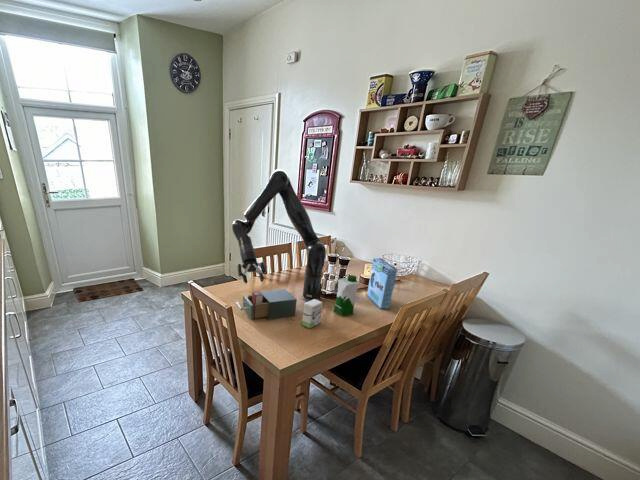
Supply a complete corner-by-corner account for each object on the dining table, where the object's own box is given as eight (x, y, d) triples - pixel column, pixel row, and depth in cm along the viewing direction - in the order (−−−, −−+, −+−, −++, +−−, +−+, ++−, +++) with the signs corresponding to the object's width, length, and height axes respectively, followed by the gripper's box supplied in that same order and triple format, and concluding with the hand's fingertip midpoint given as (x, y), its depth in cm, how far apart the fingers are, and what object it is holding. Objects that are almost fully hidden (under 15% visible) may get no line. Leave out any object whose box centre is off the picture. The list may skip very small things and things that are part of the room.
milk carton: (355, 314, 171) (362, 278, 163) (341, 317, 168) (347, 281, 160) (344, 307, 179) (350, 273, 170) (331, 310, 175) (336, 275, 167)
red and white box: (258, 308, 171) (259, 290, 167) (262, 312, 167) (263, 294, 163) (251, 309, 170) (252, 291, 166) (254, 313, 166) (255, 295, 162)
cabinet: (268, 319, 164) (269, 302, 160) (258, 307, 177) (259, 291, 173) (295, 316, 168) (296, 299, 164) (283, 304, 181) (285, 288, 177)
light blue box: (388, 309, 178) (398, 269, 169) (379, 309, 178) (388, 269, 168) (374, 294, 196) (382, 258, 186) (366, 294, 196) (373, 257, 186)
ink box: (309, 328, 157) (312, 306, 152) (301, 325, 160) (303, 303, 155) (320, 323, 162) (323, 301, 157) (311, 319, 165) (314, 298, 160)
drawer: (241, 320, 161) (242, 306, 157) (234, 309, 172) (234, 296, 169) (275, 316, 166) (276, 302, 162) (266, 305, 177) (267, 292, 174)
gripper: (236, 251, 167) (242, 280, 162) (262, 249, 171) (269, 277, 166) (233, 258, 174) (239, 286, 169) (258, 256, 178) (265, 283, 173)
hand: (254, 282), depth 167 cm, fingers open, 8 cm apart
